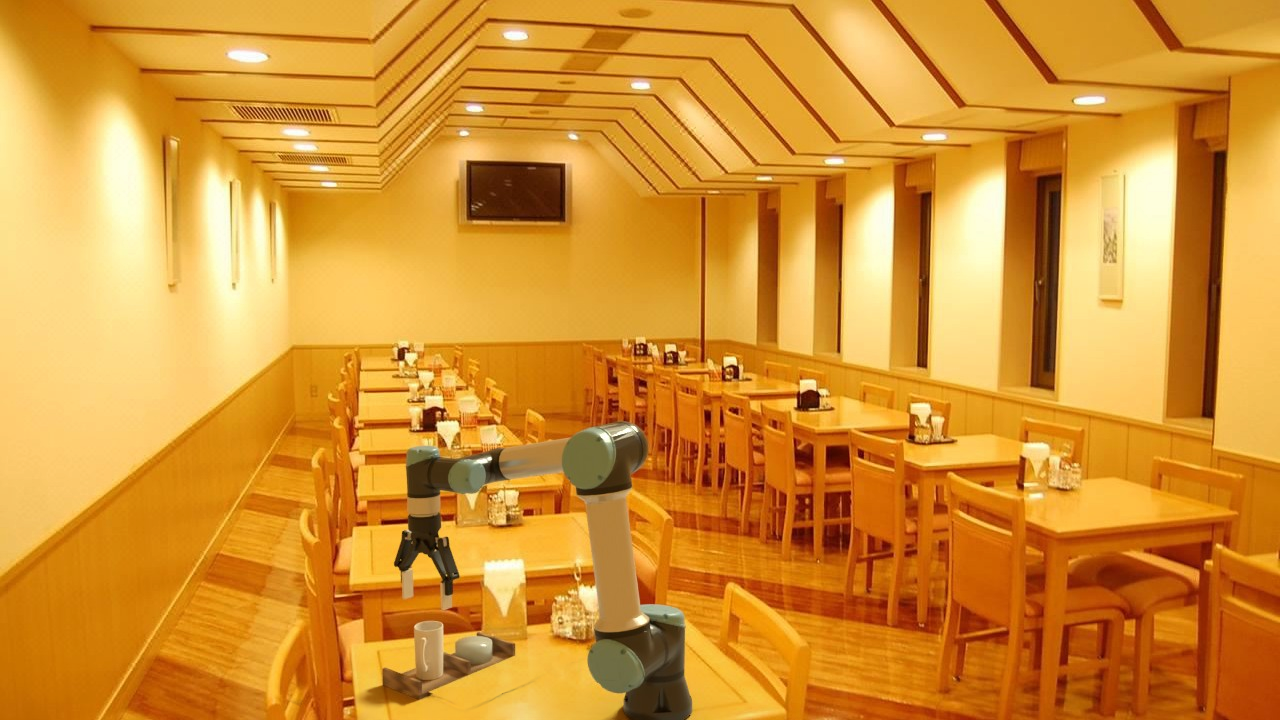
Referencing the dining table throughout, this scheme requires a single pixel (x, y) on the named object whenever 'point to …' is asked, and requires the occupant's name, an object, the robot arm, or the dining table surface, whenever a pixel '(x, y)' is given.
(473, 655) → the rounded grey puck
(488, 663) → the rack
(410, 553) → the robot arm
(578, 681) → the dining table surface
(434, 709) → the dining table surface
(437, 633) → the mug
